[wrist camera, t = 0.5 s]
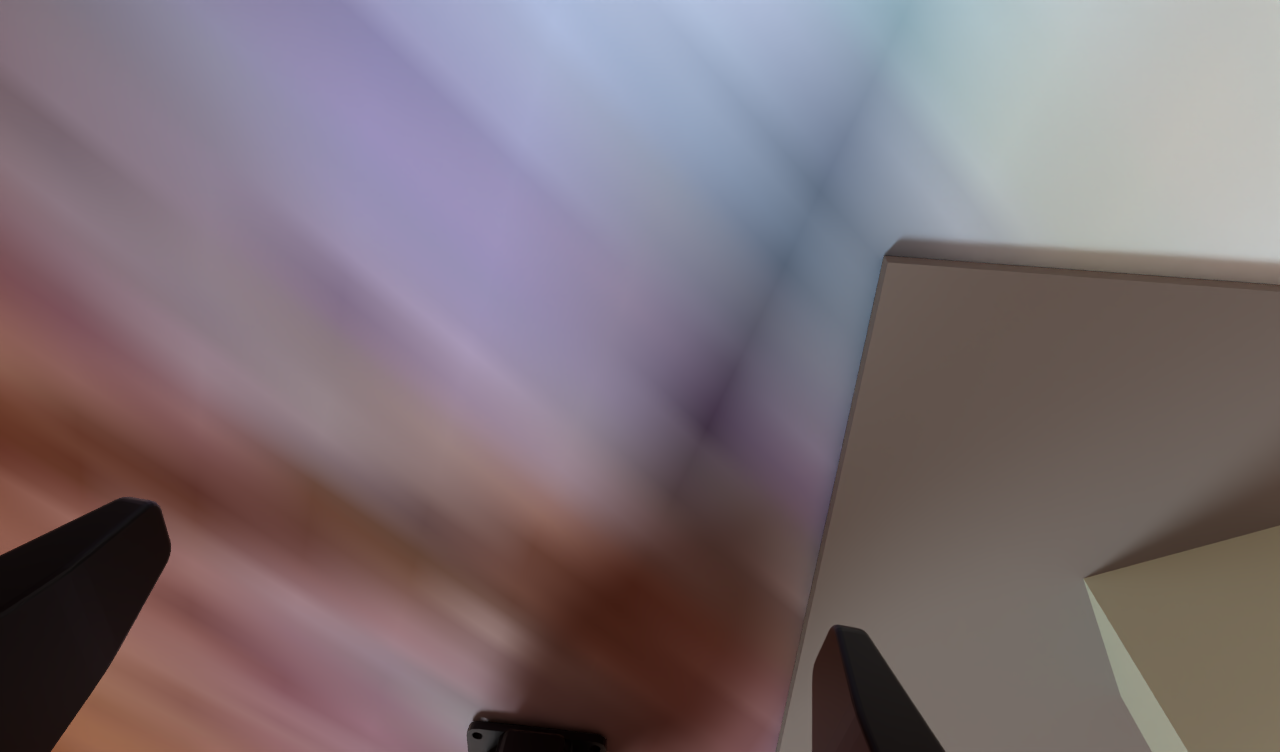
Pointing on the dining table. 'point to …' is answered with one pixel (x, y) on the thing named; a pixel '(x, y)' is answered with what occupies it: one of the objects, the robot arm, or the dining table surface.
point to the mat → (1034, 484)
